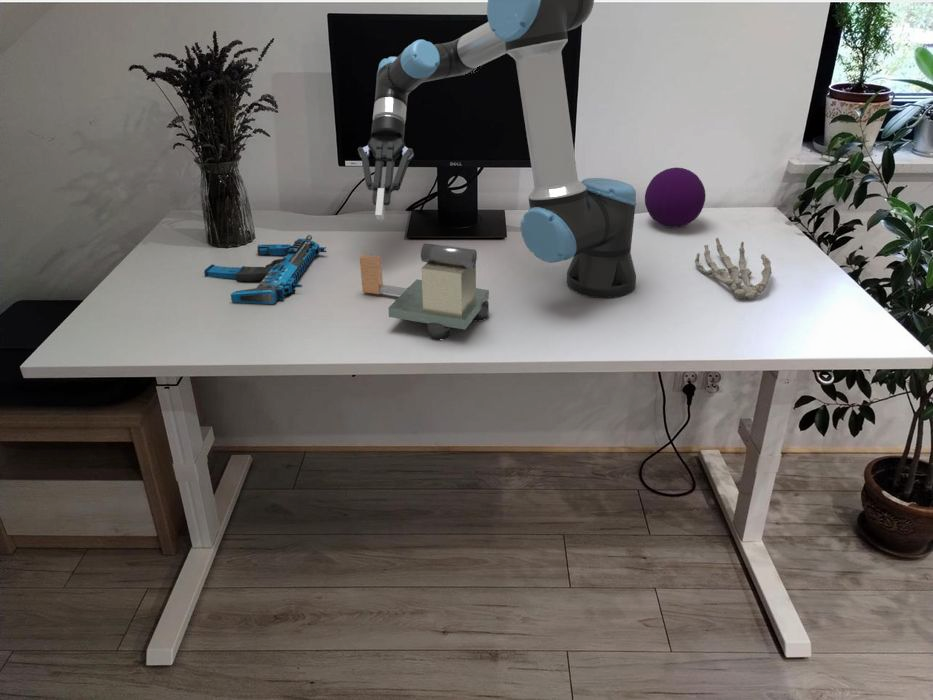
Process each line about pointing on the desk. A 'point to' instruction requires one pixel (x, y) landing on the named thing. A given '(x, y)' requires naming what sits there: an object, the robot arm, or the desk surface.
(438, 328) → the footed square platform
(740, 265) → the skeleton model
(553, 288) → the desk surface
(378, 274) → the footscrew lever
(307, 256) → the submachine gun
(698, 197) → the toy ball
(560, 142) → the robot arm
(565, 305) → the desk surface
